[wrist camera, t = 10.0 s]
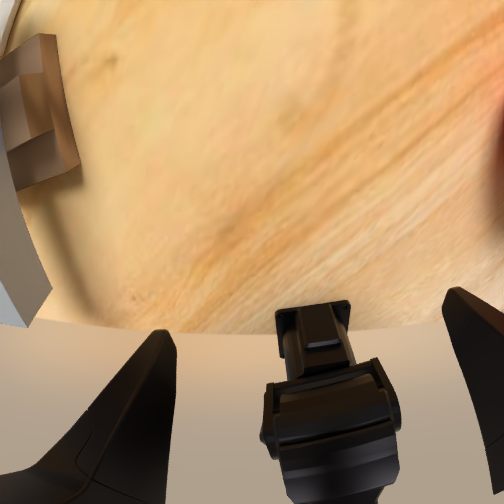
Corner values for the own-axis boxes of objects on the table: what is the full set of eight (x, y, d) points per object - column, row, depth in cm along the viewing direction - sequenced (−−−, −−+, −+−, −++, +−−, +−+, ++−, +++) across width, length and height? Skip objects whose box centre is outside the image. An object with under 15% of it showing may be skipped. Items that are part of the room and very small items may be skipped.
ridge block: (80, 162, 17) (45, 186, 13) (12, 189, 17) (-22, 214, 13) (55, 34, 11) (14, 32, 8) (-14, 82, 12) (-52, 92, 8)
